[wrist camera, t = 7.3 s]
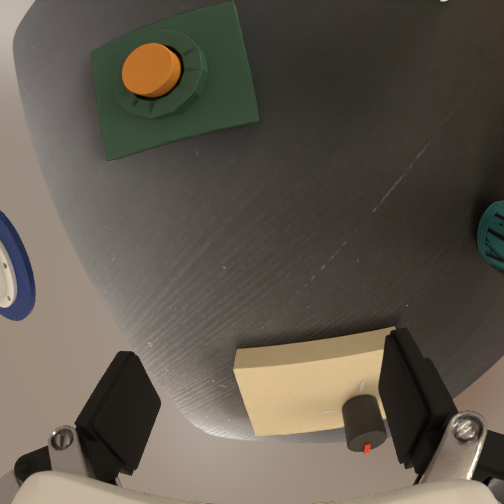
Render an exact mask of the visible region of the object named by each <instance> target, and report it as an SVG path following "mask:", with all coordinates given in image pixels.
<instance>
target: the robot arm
mask: <svg viewBox="0 0 504 504" xmlns="http://www.w3.org/2000/svg"><path fill="white" fill-rule="evenodd" d="M16 297H17V280H16V275H15V271H14V267H13V264H12V261H11V259H10V257H9V254H8V252H7V250H6V248H5V246H4V245H3V243H2V242H1V240H0V307H4V308H6V307H9V306H10V305H11V304H13V303H14V301H15V300H16ZM378 391H379V395H380V398H381V402H382V405H383V408H384V411H385V415H386V418H387V421H388V425H389V428H390V432H391V435H392V439H393V442H394V446H395V450H396V454H397V457H398V461H399V463H400V464H402V463H404V466H405V469H409V468H412V467H414V470H415V473H417V477H416V478H415V480H414V482H413V483H412V485H411V486H408V487H404V488H400V489H395V490H391V491H387V492H382V493H378V494H373V495H368V496H363V497H358V498H351V499H345V500H339V501H331V502H323V503H314V504H498V503H497V501H496V499H497V500H498V501H499V502H501V503H502V504H504V435H503V434H499V433H496V432H493V431H490V430H487V424H486V421H485V419H484V418H483V416H481V415H480V414H479V413H477V412H475V411H469V410H466V411H461V412H458V410H457V408H456V406H455V404H454V402H453V400H452V398H451V396H450V394H449V392H448V390H447V388H446V386H445V384H444V383H443V381H442V379H441V377H440V375H439V373H438V371H437V370H436V368H435V366H434V364H433V362H432V361H431V360H430V359H429V358H423V356H422V354H421V352H420V350H419V348H418V347H417V345H416V343H415V341H414V340H413V338H412V336H411V334H410V333H409V331H408V329H407V328H400V329H395V330H391V331H390V335H386V337H385V344H384V352H383V359H382V365H381V371H380V377H379V383H378ZM160 406H161V400H160V398H159V396H158V394H157V392H156V390H155V388H154V387H153V385H152V383H151V381H150V379H149V377H148V375H147V373H146V371H145V369H144V367H143V365H142V363H141V361H140V359H139V357H138V356H137V355H135V353H134V352H131V351H120V352H118V353H117V355H116V356H115V358H114V359H113V361H112V362H111V364H110V366H109V367H108V369H107V370H106V372H105V373H104V375H103V377H102V378H101V380H100V381H99V383H98V385H97V386H96V388H95V389H94V391H93V393H92V395H91V396H90V398H89V399H88V401H87V403H86V405H85V406H84V408H83V409H82V411H81V413H80V415H79V416H78V418H77V420H76V421H75V425H76V428H75V429H74V428H73V427H71V426H68V425H64V426H60V427H58V428H56V429H55V430H54V431H52V433H51V434H50V436H49V439H48V446H45V447H43V448H41V449H38V450H36V451H33V452H31V453H28V454H25V455H23V456H21V457H20V458H19V459H18V460H17V461H16V463H15V466H14V471H12V470H11V471H9V472H8V473H7V474H5V475H4V476H2V477H1V478H0V504H210V503H200V502H192V501H185V500H179V499H172V498H167V497H161V496H156V495H151V494H146V493H142V492H138V491H134V490H130V489H126V488H123V487H122V485H121V483H120V481H119V478H118V474H119V472H120V473H123V474H127V475H131V476H132V473H133V471H134V470H136V469H137V468H138V465H139V462H140V460H141V457H142V454H143V452H144V449H145V446H146V444H147V441H148V438H149V436H150V433H151V430H152V428H153V425H154V423H155V420H156V417H157V415H158V412H159V409H160Z"/></svg>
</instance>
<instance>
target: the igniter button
mask: <svg viewBox="0 0 504 504" xmlns="http://www.w3.org/2000/svg"><path fill="white" fill-rule="evenodd" d="M180 74H181V63H180V60H179V58H178V57H177V56H176V55H175V54H174V53H173V52H172V51H170V50H169V49H168V48H166V47H165V46H163V45H161V44H157V43H150V44H145V45H142V46H140V47H138V48H137V49H135V50H134V51H133V52H132V53H131V54H130V55H129V56H128V58H127V59H126V61H125V63H124V65H123V69H122V80H123V83H124V85H125V86H126V88H127V89H128V90H129V91H131V92H133V93H135V94H139V95H143V96H146V97H158V96H161V95H164V94H166V93H167V92H169V91H170V90H171V89H172V88H173V87H174V86H175V85H176V83H177V81H178V80H179V77H180Z"/></svg>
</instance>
